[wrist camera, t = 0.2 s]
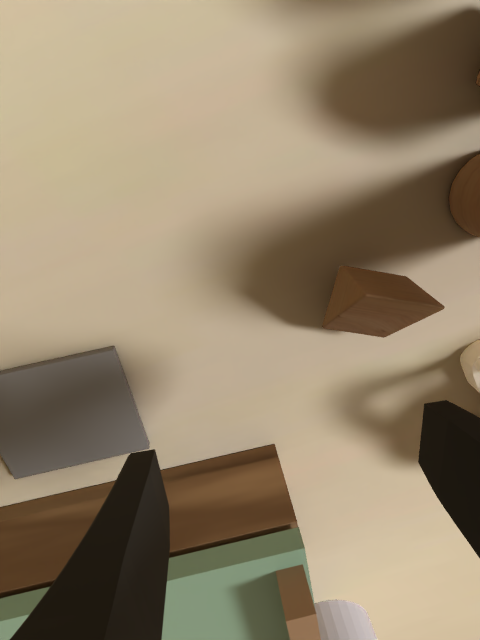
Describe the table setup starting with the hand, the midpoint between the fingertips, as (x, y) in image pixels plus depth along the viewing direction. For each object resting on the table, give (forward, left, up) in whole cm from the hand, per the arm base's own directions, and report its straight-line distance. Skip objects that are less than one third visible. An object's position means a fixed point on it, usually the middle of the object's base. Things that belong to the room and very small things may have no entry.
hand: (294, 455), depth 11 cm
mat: (-3, +10, -9) cm, 14 cm away
